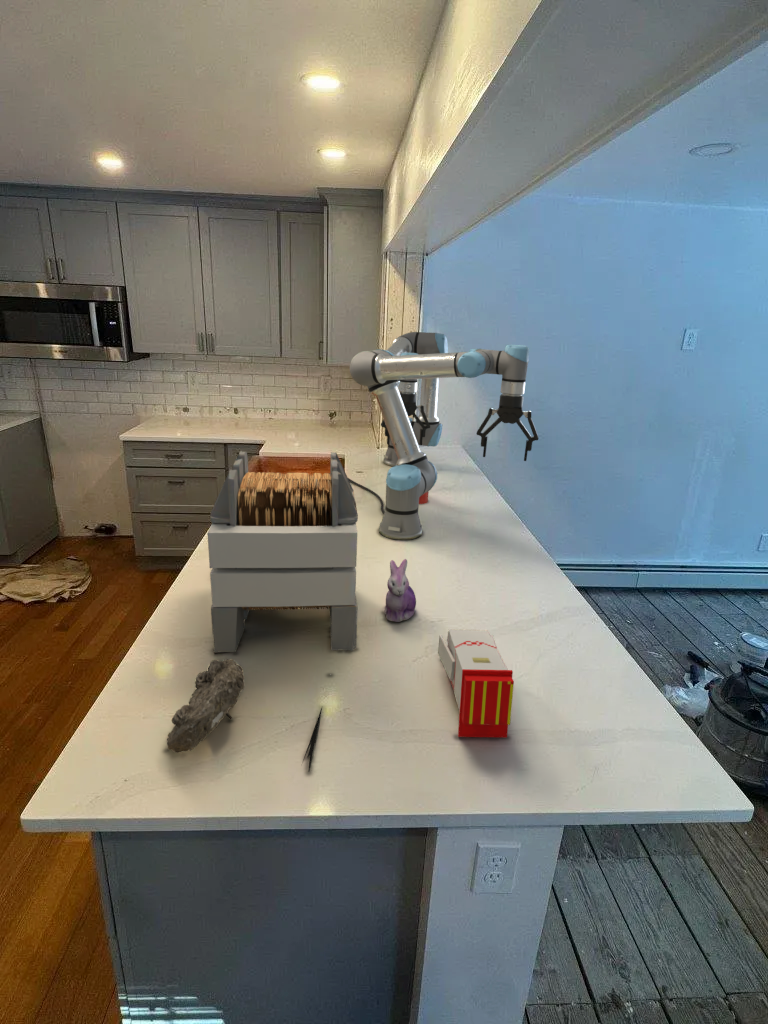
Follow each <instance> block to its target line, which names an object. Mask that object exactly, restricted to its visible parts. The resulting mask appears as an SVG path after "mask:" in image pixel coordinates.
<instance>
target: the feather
mask: <svg viewBox="0 0 768 1024" xmlns="http://www.w3.org/2000/svg"><path fill="white" fill-rule="evenodd" d="M329 675H330V676H331V675H332V674H331V673H330V674H329ZM322 710H323V707H321V708H320V710H319V713H318V716H317V719H316V723H315V725H314V728H313V731H312V733H311V737H310V739H309V742H308V745H307V748H306V751H305V754H304V757H303V760H302V763H301V767H302V765H303V763H304V761H305V758H308V759H309V760H308V762H307V763H308V764H307V766H308V771H310V770H311V766H312V765H311V764H312V760H313V757H315V756H314V755H315V751H316V749H315V746H317V739H318V733H319V729H320V722H321V717H322V712H323V711H322ZM313 754H314V755H313ZM306 755H307V757H306Z"/></svg>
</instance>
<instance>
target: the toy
mask: <svg viewBox="0 0 768 1024" xmlns="http://www.w3.org/2000/svg"><path fill="white" fill-rule="evenodd" d="M446 640H447V643H446V641H445V639H444V636H443V635H442V634H439V637H438V646H437V656H438V657H439V659H440V661H441V663H442V666H443V668H444V670H445V672H446V674H447V677H448V679H449V681H450V684H451V687H452V690H453V693H454V697H455V701H456V705H457V708H458V711H459V714H458V715H459V716H458V730H457V731H458V732H457V737H458V738H508V731H509V726H510V725H511V717H512V707H513V697H514V696H513V695H514V684H515V680H514V679H513V673H514V671H513V670H512V669H508V667H507V665H506V662H505V661H504V659H503V658H502V655H501V653H500V651H499V649H498V647H497V643H496V639H495V637H494V635H493V634H491V632H490V631H489V629H467V628H466V629H465V628H463V629H461V628H460V629H459V628H448V630H447V639H446Z"/></svg>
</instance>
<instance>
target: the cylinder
mask: <svg viewBox="0 0 768 1024" xmlns="http://www.w3.org/2000/svg"><path fill="white" fill-rule="evenodd" d="M429 492H430V490H429V491H428V492H426V493H424V494H423V495H422V496H420V497H419V505H425V504H427V503H429Z"/></svg>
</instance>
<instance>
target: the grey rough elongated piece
mask: <svg viewBox="0 0 768 1024" xmlns="http://www.w3.org/2000/svg"><path fill="white" fill-rule="evenodd" d="M243 670H244V669H243V667H242V665H240V664H237V662H236V661H235V660H234V659H232V658H231V659H227V658H226V659H224V660H223V661H222V660H217V659H212V660H211V661H210V663H209V665H208V666H207V671H201V672H199V673H198V674H197V675H196V676H195V680H194V684H195V685H194V687H195V689H194V690H193V693H192V694H191V697H190V698H189V700H188V704H184V705H182V706H181V707H180V709H177V710H176V711H175V713H174V715H173V716H172V718H171V723H172V724H173V727H172V730H171V731H170V732H168V734H167V738H166V741H167V742H166V745H167V749H168V750H169V751H173V752H174V753H176V754H178V753H182V752H188V751H189V752H192V751H193V750H195V748H196V747H197V746H199V744H200V743H201V742H203V741H204V740H205V739H206V738H207V737H208V736H209V735H210V734H211V733H212V732H214V730H215V729H217V727H218V726H219V724H220V722H221V721H222V720H223V719H224V718H225V716H226V717H227V719H229V720H233V717H232V715H230V714H229V710H230V709H231V708H234V706H235V704H236V703H237V702H238V699H239V697H240V695H241V693H242V691H243V690H245V689H244V688H245V675H244V671H243Z"/></svg>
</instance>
